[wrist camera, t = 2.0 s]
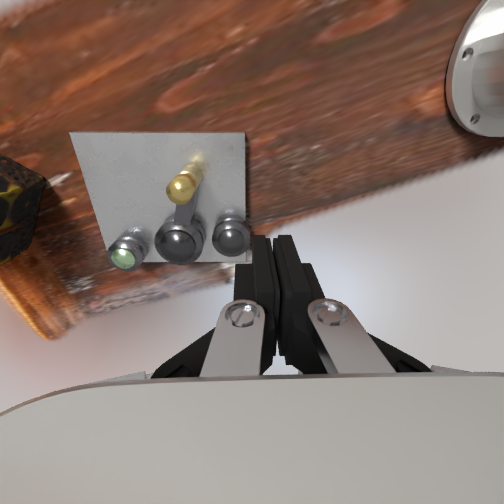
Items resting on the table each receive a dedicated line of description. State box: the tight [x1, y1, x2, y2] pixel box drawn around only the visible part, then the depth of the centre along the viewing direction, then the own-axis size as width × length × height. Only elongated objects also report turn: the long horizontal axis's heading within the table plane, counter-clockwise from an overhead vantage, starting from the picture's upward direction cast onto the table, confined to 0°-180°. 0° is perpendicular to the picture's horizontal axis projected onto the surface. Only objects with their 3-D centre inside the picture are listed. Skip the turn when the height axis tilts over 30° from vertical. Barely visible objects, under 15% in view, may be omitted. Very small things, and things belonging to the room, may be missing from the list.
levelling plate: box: [69, 131, 250, 271], centre depth 27 cm, size 16×14×4 cm
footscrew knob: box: [154, 164, 205, 265], centre depth 25 cm, size 10×5×6 cm, turn 164°
